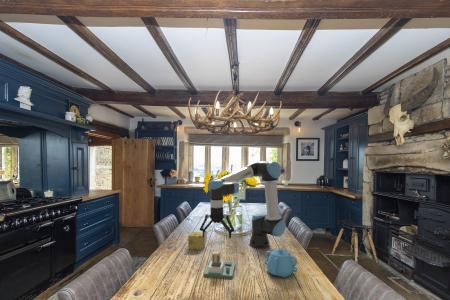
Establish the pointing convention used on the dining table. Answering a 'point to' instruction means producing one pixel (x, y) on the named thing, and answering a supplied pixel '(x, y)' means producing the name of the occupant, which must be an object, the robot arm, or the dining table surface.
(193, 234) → the cheese
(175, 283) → the dining table surface
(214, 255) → the plug
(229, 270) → the header board
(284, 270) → the decorative pot
